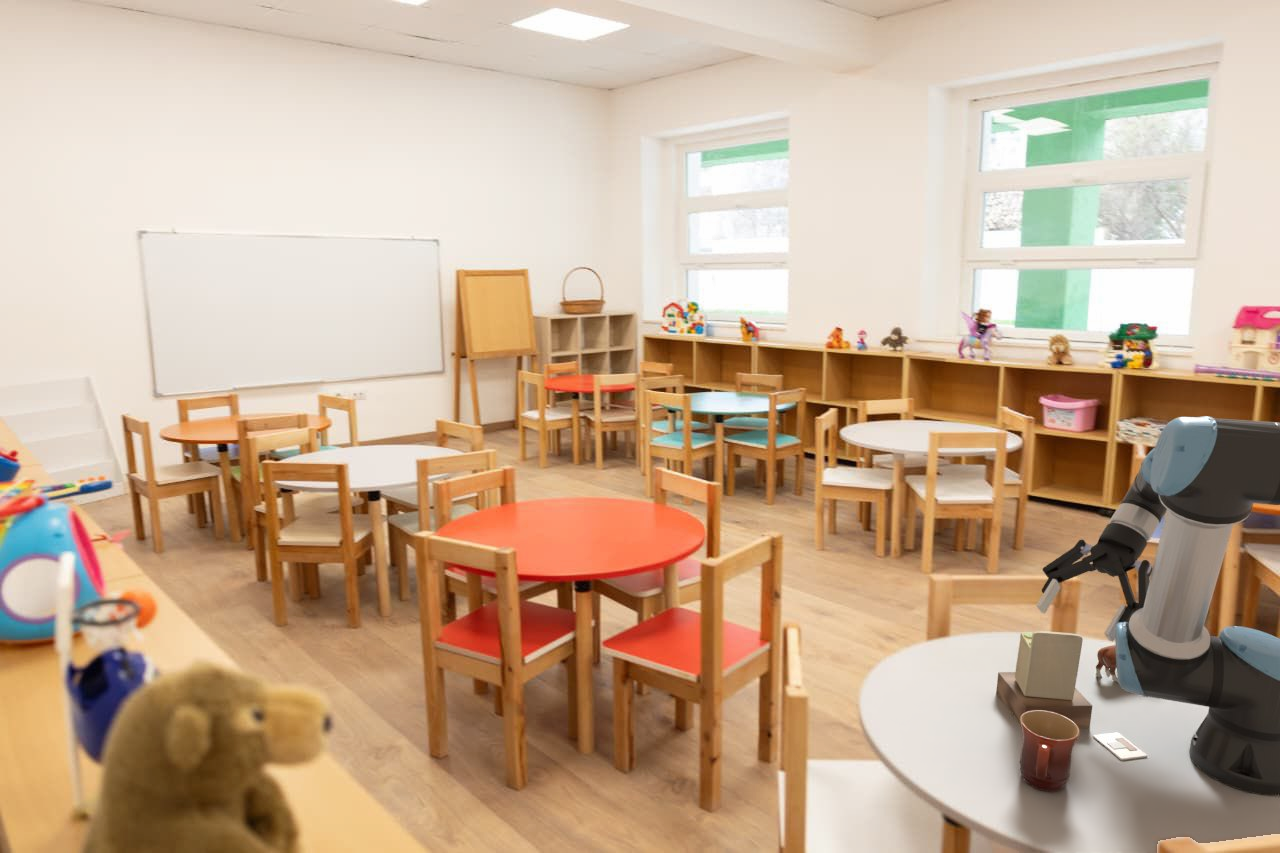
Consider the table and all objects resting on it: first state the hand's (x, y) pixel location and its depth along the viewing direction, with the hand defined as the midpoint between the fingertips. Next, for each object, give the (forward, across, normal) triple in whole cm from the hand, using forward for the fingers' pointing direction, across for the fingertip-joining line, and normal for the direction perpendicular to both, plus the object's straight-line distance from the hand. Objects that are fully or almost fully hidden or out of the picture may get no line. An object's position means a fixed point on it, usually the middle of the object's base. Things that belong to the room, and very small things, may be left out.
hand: (1073, 623), depth 160 cm
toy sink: (+14, 0, -2) cm, 14 cm away
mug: (+31, -14, +8) cm, 35 cm away
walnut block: (+17, 0, -6) cm, 18 cm away
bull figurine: (-1, -1, -24) cm, 24 cm away
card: (+16, -14, -6) cm, 22 cm away
